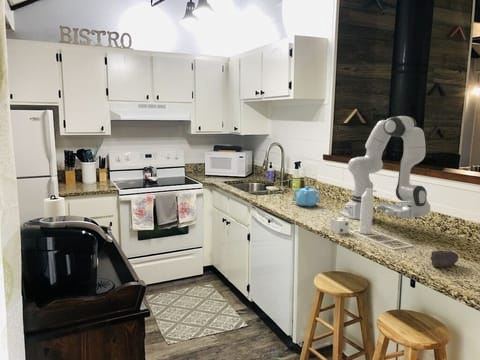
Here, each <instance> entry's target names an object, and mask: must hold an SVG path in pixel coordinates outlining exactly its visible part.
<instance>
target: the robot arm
mask: <svg viewBox="0 0 480 360" xmlns="http://www.w3.org/2000/svg"><path fill="white" fill-rule="evenodd" d="M373 127H374V128H373V129H372V130H371V132H370V135H369V136H368V139H367V140H366V143H365V145H364V146H365V149H366V153H365V155H364V156H356V157H353V158H351V159H350V160H349V161H348V163H347V164H348V165H347V169H348V171H349V172H350V174H351V175H352V177H353V182H354V188H353V189H354V192H353V195H350V196H351V200H350V201H348V202H346V203H345V204H344V206H343V210H340V211H339V213H338V214H340V215H342V216H345V218H349V220H351V219H352V220H359V221H360V211H361V198H362V195H363V194H364V193H365V191H366V188H370V189H371V190H372V189H374V183H373V182H372V181H371V178H370V175H371V174H376V173H378V172H380V171H381V170H382V169H383V165H384V163H383V160H382V157H383V152H384V150H385V149H386V147H387V145H388V142H389V141H390V139H391V137H395V138H402V140H403V154H402V157H401V159H400V162H399V170H398V180H397V184H396V185H397V186H396V187H395V188H396V189H395V195H396V198H397V199H398V200H399V201H398V202H397V203H396V204H392V203H389V202H388V203H387V202H379V203H378V205H377V206H375V208H374V210H375V211H381V212H384V213H385V215H386V216H387V215H388V216H389V215H391V216H394V217H396V218H400V219H408V220H413V219H414V218H419V217H425V216H427V215H428V214H429V213H430V211H431V204H430V203H429V200H428V199H427V194H428V193H427V189H426V188H425V187H424V186H422V185H417V184H411V183H410V177H411V170H412V168H413V167H414V166H415V165H418V164H419V163H420V162H422V161H423V160H424V158H425V157H426V139H425V133H424V130H423V129H422V128H421V127H418V126H417V122H416V120H415V119H414V117H411V116H410V115H409V116H408V115H399V116H391V117H389V118H387V119H386V120H385V119H381V120H379V121H378V122H377V123H376V125H374V126H373ZM371 193H372V194H373V193H374V192H372V191H371ZM372 216H373V217H372V220H374V214H373V215H372Z"/></svg>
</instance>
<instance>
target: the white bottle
mask: <svg viewBox="0 0 480 360" xmlns="http://www.w3.org/2000/svg"><path fill="white" fill-rule="evenodd" d="M371 191H372V192H373V193H376V192H377V189H375V188H373V189H372V190H371V189H370V188H366V191H365V193H364V194H363V195H362V198H361V211H360V220H359V225H358V226H359V227H358V230H359V231H358V234H359V233H360V235H361V234H362V235H372V231H371V230H372V228H373V225H372V224H373V219H372V217H373V218H374V214H373V213H374V202H375V196H374V195H373V194H372V193H371ZM372 215H373V216H372Z"/></svg>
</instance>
